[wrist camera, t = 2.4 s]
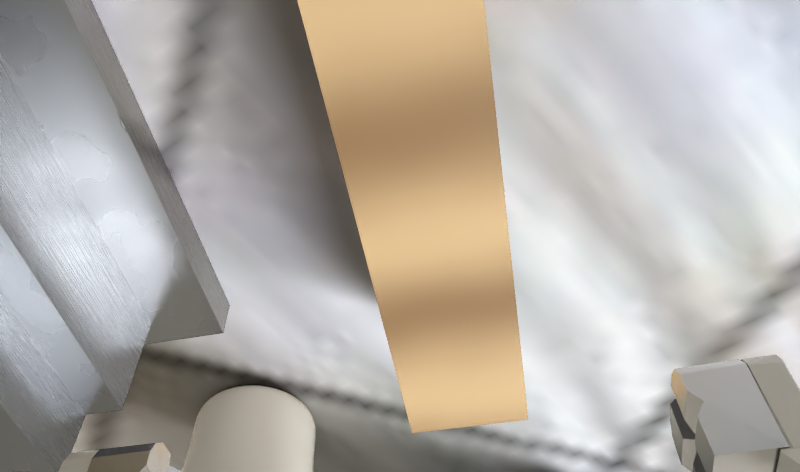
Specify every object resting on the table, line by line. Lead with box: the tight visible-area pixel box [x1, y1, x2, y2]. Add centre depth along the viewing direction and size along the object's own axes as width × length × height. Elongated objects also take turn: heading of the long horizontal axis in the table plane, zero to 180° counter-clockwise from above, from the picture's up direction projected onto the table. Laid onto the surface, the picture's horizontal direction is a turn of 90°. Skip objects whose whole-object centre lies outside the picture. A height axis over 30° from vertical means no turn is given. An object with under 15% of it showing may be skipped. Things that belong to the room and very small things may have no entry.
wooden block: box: [297, 0, 528, 433], centre depth 21 cm, size 24×4×6 cm, turn 10°
